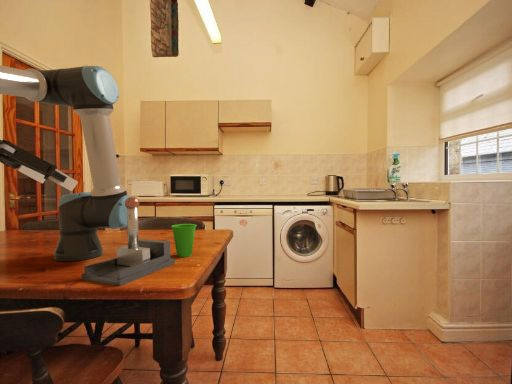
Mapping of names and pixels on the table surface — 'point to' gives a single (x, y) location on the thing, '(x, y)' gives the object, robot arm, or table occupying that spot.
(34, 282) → the table surface
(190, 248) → the cup
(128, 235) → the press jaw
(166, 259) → the base
